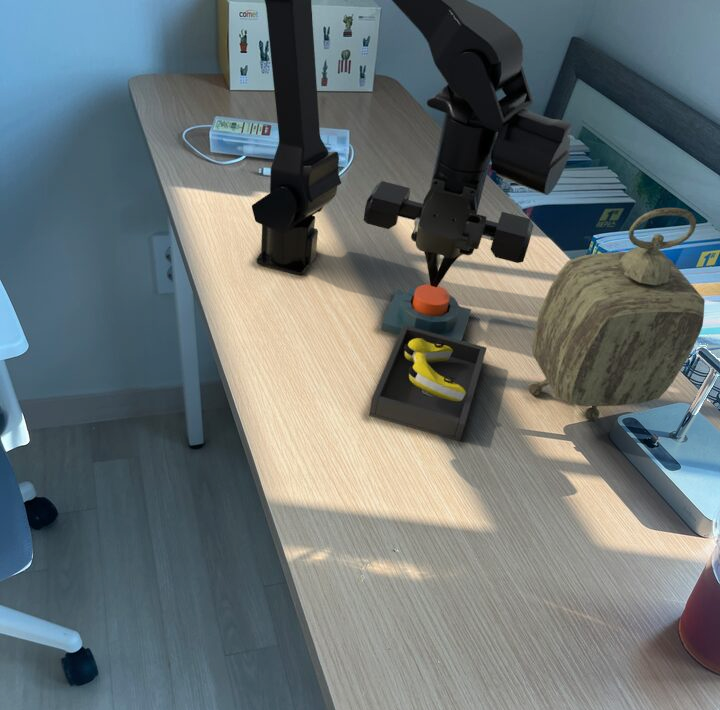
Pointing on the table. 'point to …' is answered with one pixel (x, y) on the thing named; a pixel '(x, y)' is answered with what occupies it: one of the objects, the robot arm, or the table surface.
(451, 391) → the yellow curved piece
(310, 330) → the table surface
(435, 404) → the tray
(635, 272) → the tabletop clock
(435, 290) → the button
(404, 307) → the dock switch
